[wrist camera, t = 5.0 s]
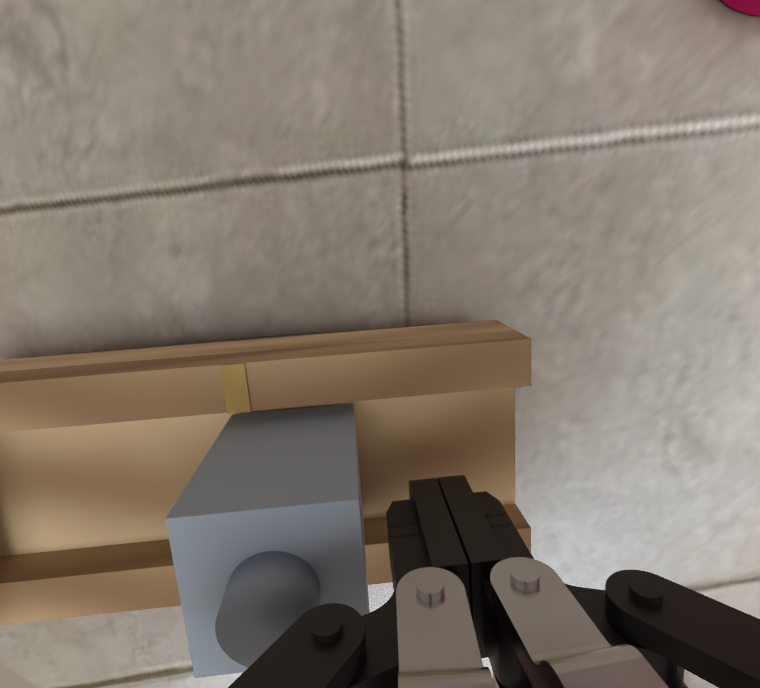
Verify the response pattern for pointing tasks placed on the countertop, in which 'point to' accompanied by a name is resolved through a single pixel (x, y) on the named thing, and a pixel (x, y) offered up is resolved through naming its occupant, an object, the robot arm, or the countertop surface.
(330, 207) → the countertop surface
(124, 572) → the beam
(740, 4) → the pepper mill
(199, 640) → the rider
